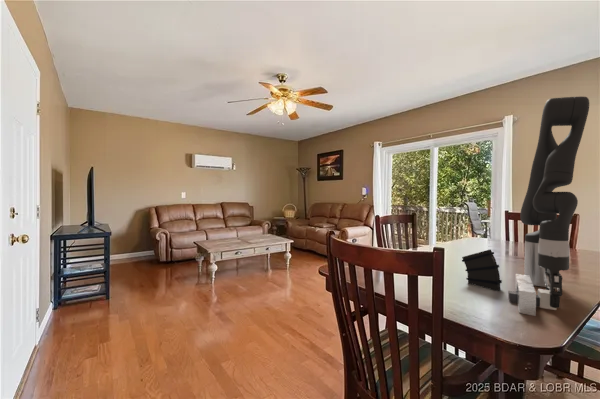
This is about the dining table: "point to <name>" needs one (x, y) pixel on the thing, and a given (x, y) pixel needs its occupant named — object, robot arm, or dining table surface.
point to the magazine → (483, 270)
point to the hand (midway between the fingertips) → (552, 302)
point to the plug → (541, 298)
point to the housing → (525, 294)
